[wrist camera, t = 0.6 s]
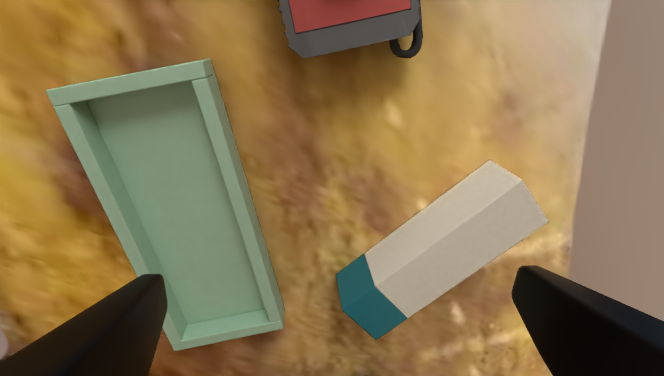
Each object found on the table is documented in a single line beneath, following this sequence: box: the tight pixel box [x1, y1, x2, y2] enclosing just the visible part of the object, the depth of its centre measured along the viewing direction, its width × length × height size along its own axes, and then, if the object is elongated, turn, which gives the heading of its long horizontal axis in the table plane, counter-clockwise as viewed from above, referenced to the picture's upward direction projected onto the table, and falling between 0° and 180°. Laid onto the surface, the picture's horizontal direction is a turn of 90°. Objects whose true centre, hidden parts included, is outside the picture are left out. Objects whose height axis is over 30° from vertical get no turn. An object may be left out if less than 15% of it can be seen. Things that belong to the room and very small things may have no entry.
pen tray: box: [46, 58, 284, 351], centre depth 21 cm, size 18×8×2 cm, turn 10°
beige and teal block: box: [336, 160, 549, 340], centre depth 23 cm, size 13×4×4 cm, turn 130°
